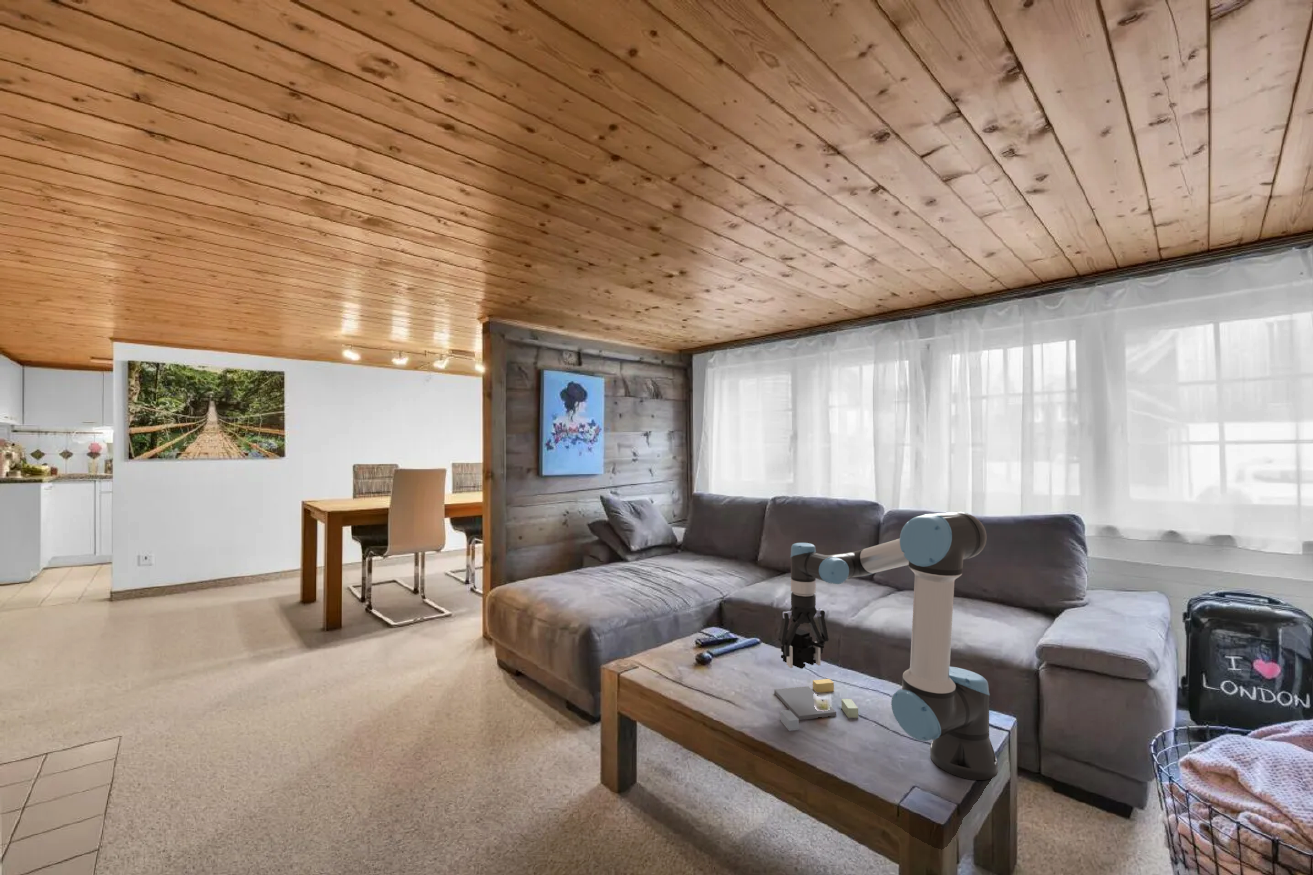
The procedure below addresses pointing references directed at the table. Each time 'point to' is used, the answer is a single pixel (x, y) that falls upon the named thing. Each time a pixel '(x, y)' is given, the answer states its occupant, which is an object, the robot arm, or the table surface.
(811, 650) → the toy
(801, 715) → the felt pad
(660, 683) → the table surface
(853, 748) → the table surface
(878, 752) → the table surface
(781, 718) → the dusty blue brick
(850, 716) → the sage brick
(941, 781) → the table surface
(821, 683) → the mustard brick
